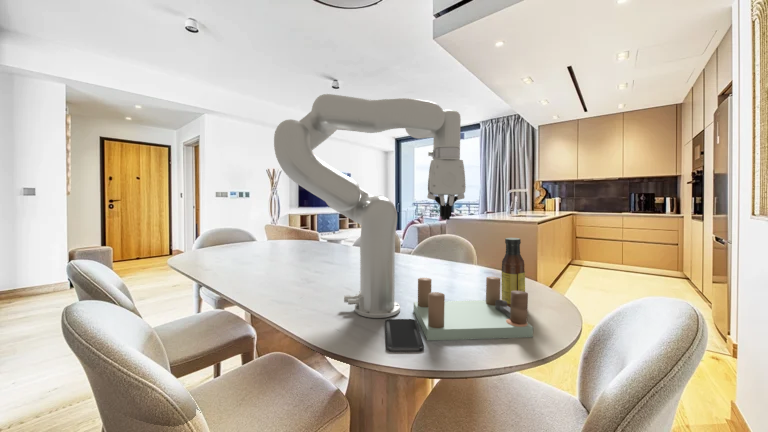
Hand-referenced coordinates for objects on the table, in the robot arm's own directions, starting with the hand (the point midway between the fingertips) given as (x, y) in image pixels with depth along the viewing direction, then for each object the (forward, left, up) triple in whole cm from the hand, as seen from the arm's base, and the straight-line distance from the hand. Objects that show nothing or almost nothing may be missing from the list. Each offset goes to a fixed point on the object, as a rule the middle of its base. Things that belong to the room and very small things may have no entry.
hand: (445, 219), depth 89 cm
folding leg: (+12, -17, -22) cm, 30 cm away
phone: (-15, -20, -26) cm, 36 cm away
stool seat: (+2, -14, -25) cm, 29 cm away
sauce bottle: (+19, -4, -25) cm, 32 cm away
